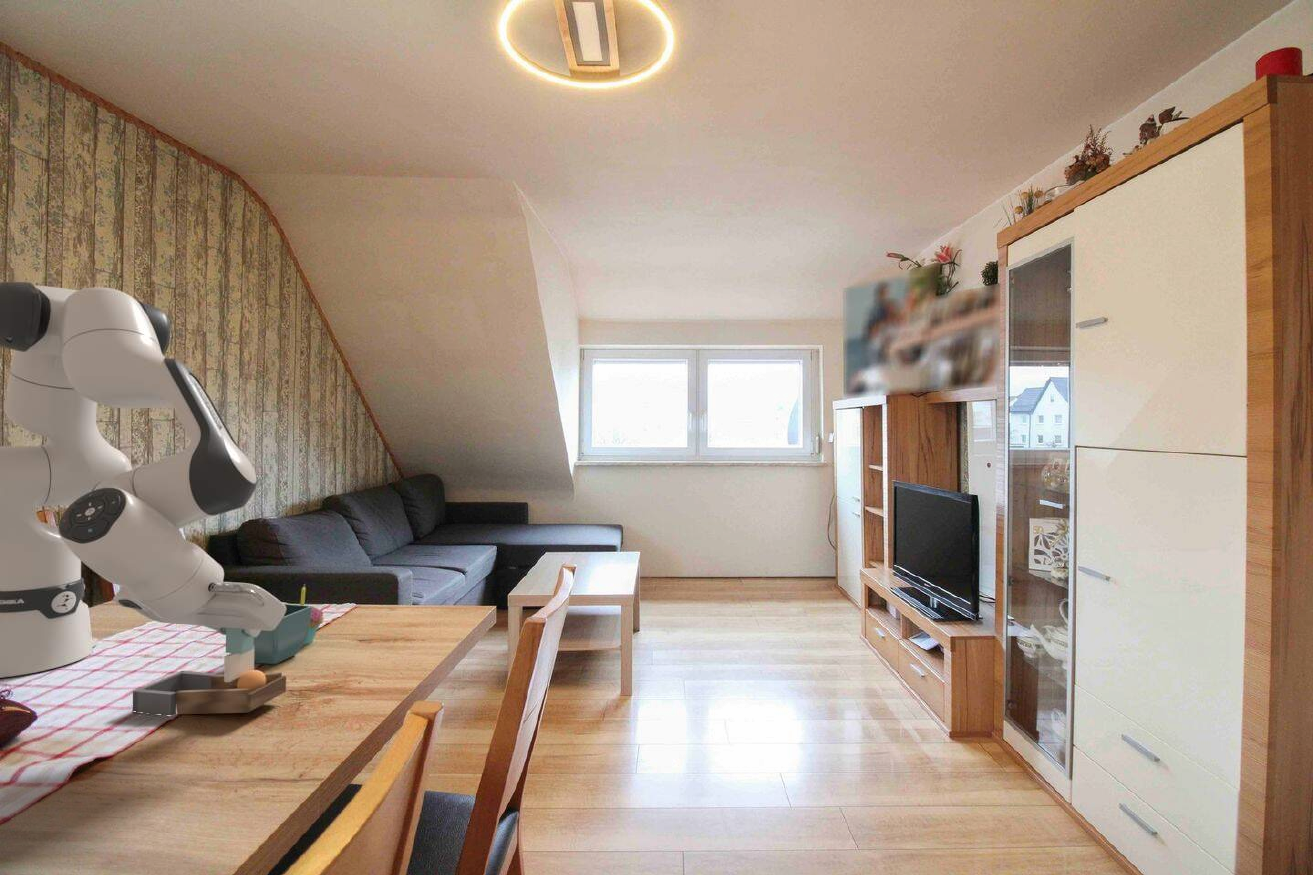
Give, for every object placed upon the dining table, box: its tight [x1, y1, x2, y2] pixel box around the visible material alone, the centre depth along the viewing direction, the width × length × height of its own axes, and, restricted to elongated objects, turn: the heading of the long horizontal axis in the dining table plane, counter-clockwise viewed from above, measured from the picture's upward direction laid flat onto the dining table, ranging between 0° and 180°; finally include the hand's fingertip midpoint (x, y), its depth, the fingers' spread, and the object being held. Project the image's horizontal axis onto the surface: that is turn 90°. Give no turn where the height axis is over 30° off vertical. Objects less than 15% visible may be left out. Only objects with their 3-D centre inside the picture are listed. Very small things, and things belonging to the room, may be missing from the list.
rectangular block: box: [223, 628, 255, 682], centre depth 87 cm, size 3×4×11 cm, turn 171°
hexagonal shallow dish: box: [175, 672, 287, 715], centre depth 88 cm, size 13×6×4 cm, turn 81°
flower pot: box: [253, 603, 312, 665], centre depth 107 cm, size 9×9×9 cm
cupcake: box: [299, 583, 324, 646], centre depth 115 cm, size 9×8×12 cm
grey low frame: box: [132, 670, 219, 716], centre depth 89 cm, size 7×8×3 cm
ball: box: [237, 669, 266, 692], centre depth 87 cm, size 4×4×4 cm
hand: (243, 631), depth 88 cm, fingers open, 3 cm apart
